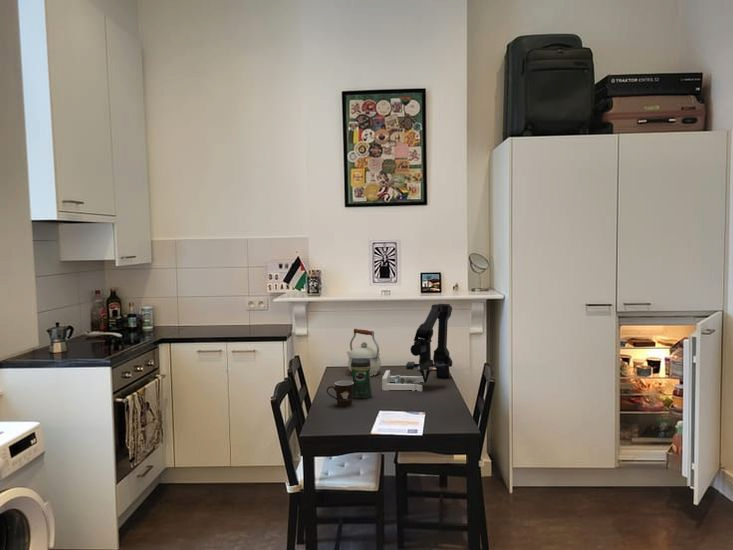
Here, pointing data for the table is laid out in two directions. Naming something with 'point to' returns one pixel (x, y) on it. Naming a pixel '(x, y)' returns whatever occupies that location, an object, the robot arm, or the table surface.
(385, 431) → the table surface
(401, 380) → the egg carton
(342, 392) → the coffee mug
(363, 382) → the coffee jar
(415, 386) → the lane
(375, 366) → the kettle
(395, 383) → the bar
